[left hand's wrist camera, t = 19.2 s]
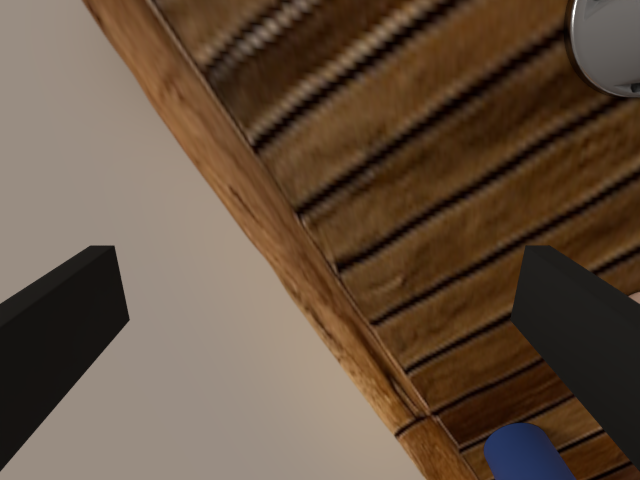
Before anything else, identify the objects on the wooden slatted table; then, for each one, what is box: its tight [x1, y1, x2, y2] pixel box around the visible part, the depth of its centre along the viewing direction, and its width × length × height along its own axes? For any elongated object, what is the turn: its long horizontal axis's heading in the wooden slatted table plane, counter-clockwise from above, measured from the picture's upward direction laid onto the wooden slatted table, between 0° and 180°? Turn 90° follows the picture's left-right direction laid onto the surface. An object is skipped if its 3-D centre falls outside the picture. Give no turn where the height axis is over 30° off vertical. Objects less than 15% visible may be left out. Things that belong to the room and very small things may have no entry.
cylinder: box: [484, 423, 576, 480], centre depth 51 cm, size 9×9×9 cm
